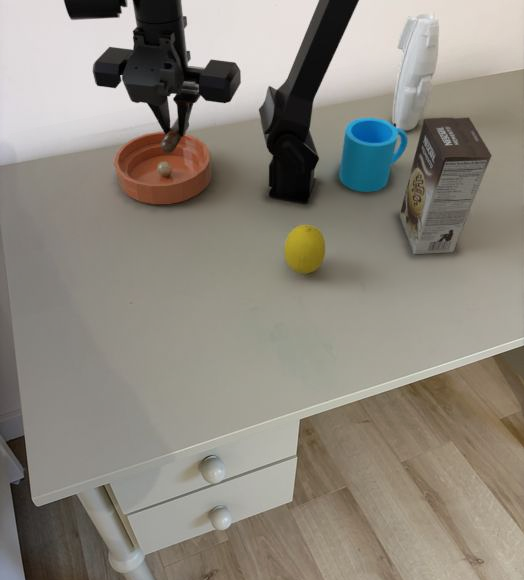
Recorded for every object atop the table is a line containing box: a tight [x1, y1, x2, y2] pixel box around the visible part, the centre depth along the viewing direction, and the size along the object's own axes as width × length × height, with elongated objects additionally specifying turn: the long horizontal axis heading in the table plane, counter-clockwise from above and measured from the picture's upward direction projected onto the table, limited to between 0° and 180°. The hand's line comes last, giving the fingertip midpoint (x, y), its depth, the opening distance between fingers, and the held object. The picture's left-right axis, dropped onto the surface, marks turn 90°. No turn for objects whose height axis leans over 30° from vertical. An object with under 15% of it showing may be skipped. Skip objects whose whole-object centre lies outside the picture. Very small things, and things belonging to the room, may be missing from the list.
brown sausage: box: [161, 117, 190, 154], centre depth 76 cm, size 8×2×2 cm, turn 166°
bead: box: [157, 161, 172, 177], centre depth 87 cm, size 2×2×2 cm
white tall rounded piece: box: [391, 11, 440, 132], centre depth 92 cm, size 7×18×7 cm
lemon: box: [283, 224, 326, 275], centre depth 72 cm, size 6×6×8 cm
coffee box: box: [399, 117, 493, 255], centre depth 74 cm, size 9×6×16 cm
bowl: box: [113, 131, 212, 205], centre depth 87 cm, size 15×15×4 cm
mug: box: [338, 117, 408, 193], centre depth 86 cm, size 12×8×8 cm
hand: (175, 134), depth 76 cm, fingers closed on brown sausage, 2 cm apart
